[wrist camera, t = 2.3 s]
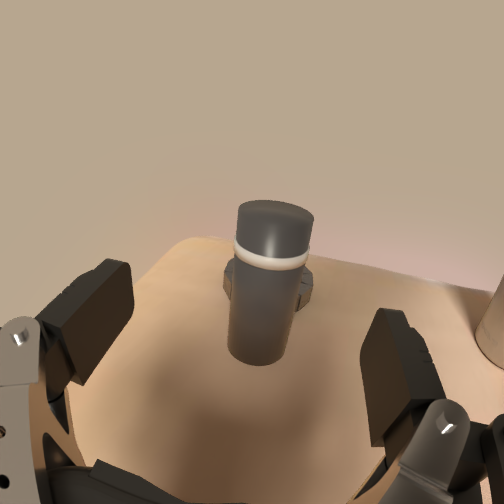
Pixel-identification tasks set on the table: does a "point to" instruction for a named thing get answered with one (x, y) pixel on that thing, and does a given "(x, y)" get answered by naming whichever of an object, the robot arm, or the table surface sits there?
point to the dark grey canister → (266, 278)
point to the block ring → (303, 290)
